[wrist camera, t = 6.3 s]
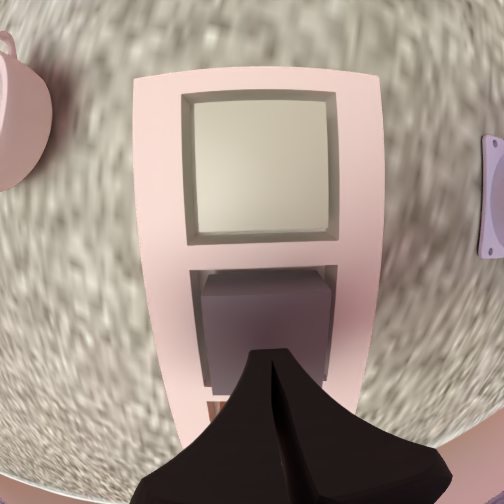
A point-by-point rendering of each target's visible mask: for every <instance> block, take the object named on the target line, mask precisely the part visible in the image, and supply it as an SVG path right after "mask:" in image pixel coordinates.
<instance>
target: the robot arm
mask: <svg viewBox="0 0 504 504" xmlns="http://www.w3.org/2000/svg"><path fill="white" fill-rule="evenodd" d="M482 143H483V207H482V221H481V232H480V241H479V249H478V255H479V257H480V258H482V259H495V258H504V139H502V138H499V137H496V136H492V135H484V136H483V140H482ZM493 144H494V145H493ZM488 251H489V252H488ZM452 476H453V475H452V474H451V472H450V470H449V469H448V467H447V465H446V463H445V461H444V460H443V458H442V457H441V455H440V454H439V453H438V451H437V450H436V449H434V448H431V447H427V446H424V445H420V444H417V443H414V442H410V441H407V440H404V439H402V438H399V437H397V436H394V435H392V434H390V433H387V432H385V431H383V430H381V429H379V428H377V427H375V426H373V425H371V424H370V423H368V422H366V421H364V420H362V419H361V418H359V417H357V416H356V415H354V414H353V413H351V412H350V411H348V410H347V409H346V408H344V407H343V406H342V405H340V404H339V403H338V402H337V401H335V400H334V399H333V398H332V397H331V396H330V395H329V394H327V393H326V392H325V391H324V390H323V389H322V388H321V387H320V386H319V385H318V384H317V383H316V382H315V381H314V380H313V379H312V378H311V377H310V375H309V374H308V373H307V372H306V371H305V370H304V369H303V367H302V366H301V365H300V364H299V363H298V361H297V360H296V359H295V357H294V356H293V354H292V353H291V352H290V350H289V349H287V348H278V349H258V350H251V351H250V352H249V353H248V359H247V362H246V365H245V368H244V370H243V373H242V375H241V377H240V379H239V381H238V383H237V385H236V387H235V389H234V390H233V392H232V394H231V395H230V397H229V399H228V400H227V402H226V403H225V405H224V406H223V408H222V409H221V411H220V412H219V413H218V415H217V416H216V417H215V418H214V420H213V421H212V422H211V423H210V424H209V425H208V427H207V428H206V429H205V430H204V431H203V432H202V433H201V434H200V435H199V436H198V437H197V438H196V439H195V440H194V441H193V442H192V443H191V444H190V445H189V446H187V447H186V448H185V449H184V450H183V451H181V452H180V453H179V454H178V455H177V456H175V457H174V458H173V459H172V460H170V461H169V462H168V463H166V464H164V465H163V466H161V467H160V468H158V469H157V470H155V471H154V472H152V473H151V474H149V475H147V476H146V477H144V478H142V479H141V481H140V483H139V484H138V486H137V488H136V490H135V492H134V495H133V497H132V498H131V501H130V504H434V503H435V502H436V501H437V500H438V499H439V497H440V496H441V495H442V494H443V493H444V492H445V491H446V489H447V488H448V486H449V485H450V483H451V481H452ZM0 504H6V503H5V502H4V501H3V500H2V499H0ZM485 504H504V491H503V492H501V493H500V494H498V495H497V496H495V497H494V498H492V499H491V500H489V501H488V502H486V503H485Z"/></svg>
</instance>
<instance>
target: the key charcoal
mask: <svg viewBox="0 0 504 504" xmlns="http://www.w3.org/2000/svg"><path fill="white" fill-rule="evenodd" d="M331 293H332V291H331V289H330V288H329V287H328V285H327V284H326V283H325V281H324V280H323V278H322V277H321V276H320V274H319V273H318V271H317V270H313V271H291V272H266V273H238V274H209V275H208V277H207V280H206V283H205V286H204V288H203V291H202V294H201V305H202V314H203V323H204V332H205V341H206V349H207V357H208V365H209V372H210V380H211V387H212V394H213V395H231V394H232V392H233V390H234V389H235V387H236V385H237V383H238V381H239V379H240V377H241V375H242V373H243V370H244V368H245V365H246V362H247V359H248V353H249V352H250V351H251V350H258V349H278V348H287V349H289V350H290V352H291V353H292V354H293V356H294V357H295V359H296V360H297V361H298V363H299V364H300V365H301V366H302V367H303V369H304V370H305V371H306V372H307V373H308V374H309V375H310V377H311V378H312V379H313V380H314V381H315V382H316V383H317V384H318V385H319V386H320V387H321V388H322V384H323V376H324V368H325V360H326V351H327V341H328V331H329V319H330V307H331Z"/></svg>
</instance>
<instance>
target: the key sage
mask: <svg viewBox="0 0 504 504" xmlns="http://www.w3.org/2000/svg"><path fill="white" fill-rule="evenodd" d="M194 119H195V160H196V185H197V205H198V222H199V232H220V231H247V230H279V229H318V228H328V208H329V189H328V142H327V120H326V103H325V102H317V101H294V100H246V101H223V102H208V103H196V104H194Z"/></svg>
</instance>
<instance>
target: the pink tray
mask: <svg viewBox="0 0 504 504" xmlns="http://www.w3.org/2000/svg"><path fill="white" fill-rule="evenodd" d="M246 100H294V101H317V102H325V103H326V120H327V142H328V189H329V208H328V228H318V229H279V230H247V231H220V232H199V222H198V205H197V185H196V160H195V119H194V104H196V103H208V102H223V101H246ZM133 167H134V187H135V202H136V215H137V226H138V236H139V245H140V254H141V262H142V269H143V277H144V283H145V290H146V296H147V303H148V308H149V314H150V320H151V325H152V330H153V335H154V340H155V345H156V350H157V355H158V359H159V364H160V368H161V372H162V376H163V381H164V385H165V389H166V393H167V396H168V400H169V404H170V408H171V411H172V415H173V418H174V422H175V425H176V428H177V432H178V435H179V438H180V441H181V445H182V448H183V450H184V449H185V448H186V447H187V446H189V445H190V444H191V443H192V442H193V441H194V440H195V439H196V438H197V437H198V436H199V435H200V434H201V433H202V432H203V431H204V430H205V429H206V428H207V427H208V425H209V424H210V423H211V422H212V421H213V420H214V418H215V417H216V416H217V415H218V413H219V407H220V401H227V400H228V399H229V397H230V395H213V394H212V387H211V380H210V372H209V365H208V357H207V349H206V341H205V332H204V323H203V314H202V305H201V294H202V291H203V288H204V286H205V283H206V280H207V277H208V275H209V274H238V273H266V272H291V271H313V270H317V271H318V273H319V274H320V276H321V277H322V278H323V280H324V281H325V283H326V284H327V285H328V287H329V288H330V289H331V291H332V293H331V307H330V319H329V331H328V341H327V351H326V360H325V368H324V376H323V384H322V389H323V390H324V391H325V392H326V393H327V394H329V395H330V396H331V397H332V398H333V399H334V400H335V401H337V402H338V403H339V404H340V405H342V406H343V407H344V408H346V409H347V410H348V411H350V412H351V413H353V414H354V415H355V412H356V408H357V404H358V400H359V396H360V392H361V387H362V383H363V378H364V374H365V369H366V364H367V359H368V354H369V348H370V343H371V337H372V331H373V324H374V318H375V311H376V304H377V296H378V287H379V278H380V268H381V257H382V244H383V227H384V199H385V161H384V133H383V117H382V104H381V94H380V84H379V76H375V75H369V74H362V73H355V72H348V71H339V70H329V69H318V68H303V67H276V66H253V67H226V68H211V69H199V70H190V71H181V72H173V73H166V74H159V75H153V76H147V77H142V78H136V79H134V87H133Z"/></svg>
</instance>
